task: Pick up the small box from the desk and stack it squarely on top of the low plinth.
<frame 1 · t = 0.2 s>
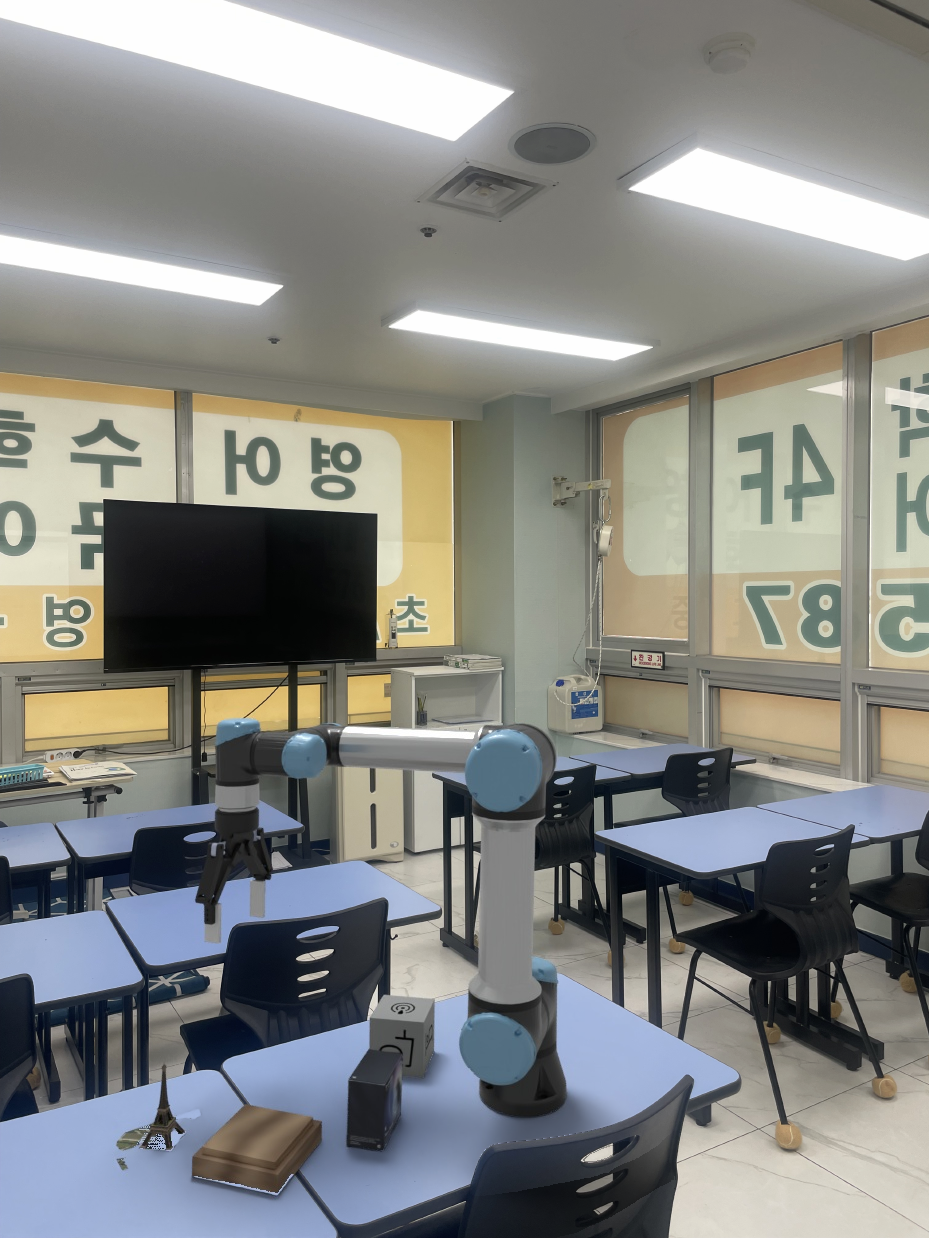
hand: (235, 928, 152), 28 cm above the table, tool pointing down, fingers open, 13 cm apart
icon cube: (402, 1063, 161), on the table
plinth: (259, 1157, 132), on the table
small box: (375, 1132, 139), on the table
eiffel tower figurine: (163, 1142, 137), on the table
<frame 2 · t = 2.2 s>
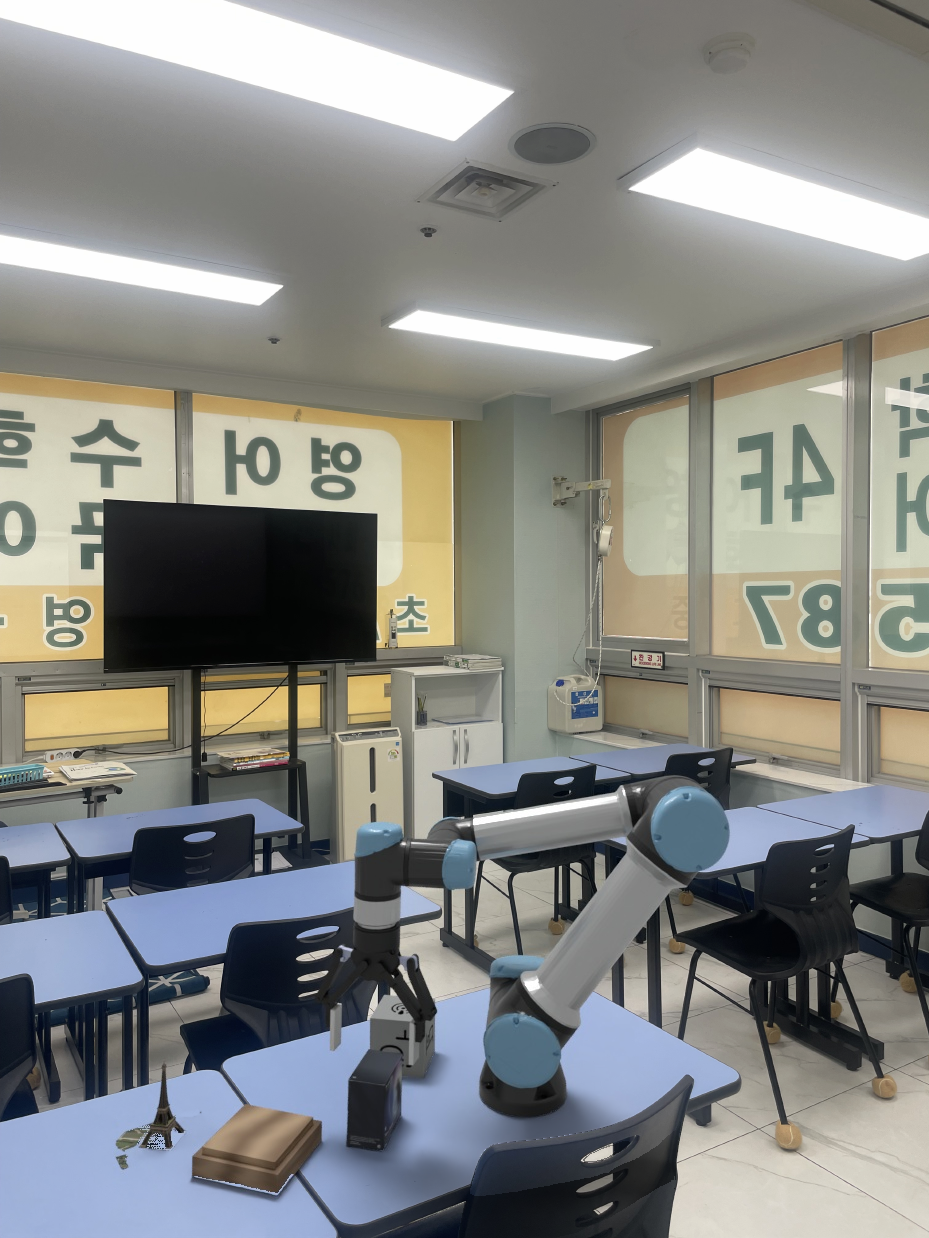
hand: (374, 1054, 139), 12 cm above the table, tool pointing down, fingers open, 13 cm apart
nothing on the table moved.
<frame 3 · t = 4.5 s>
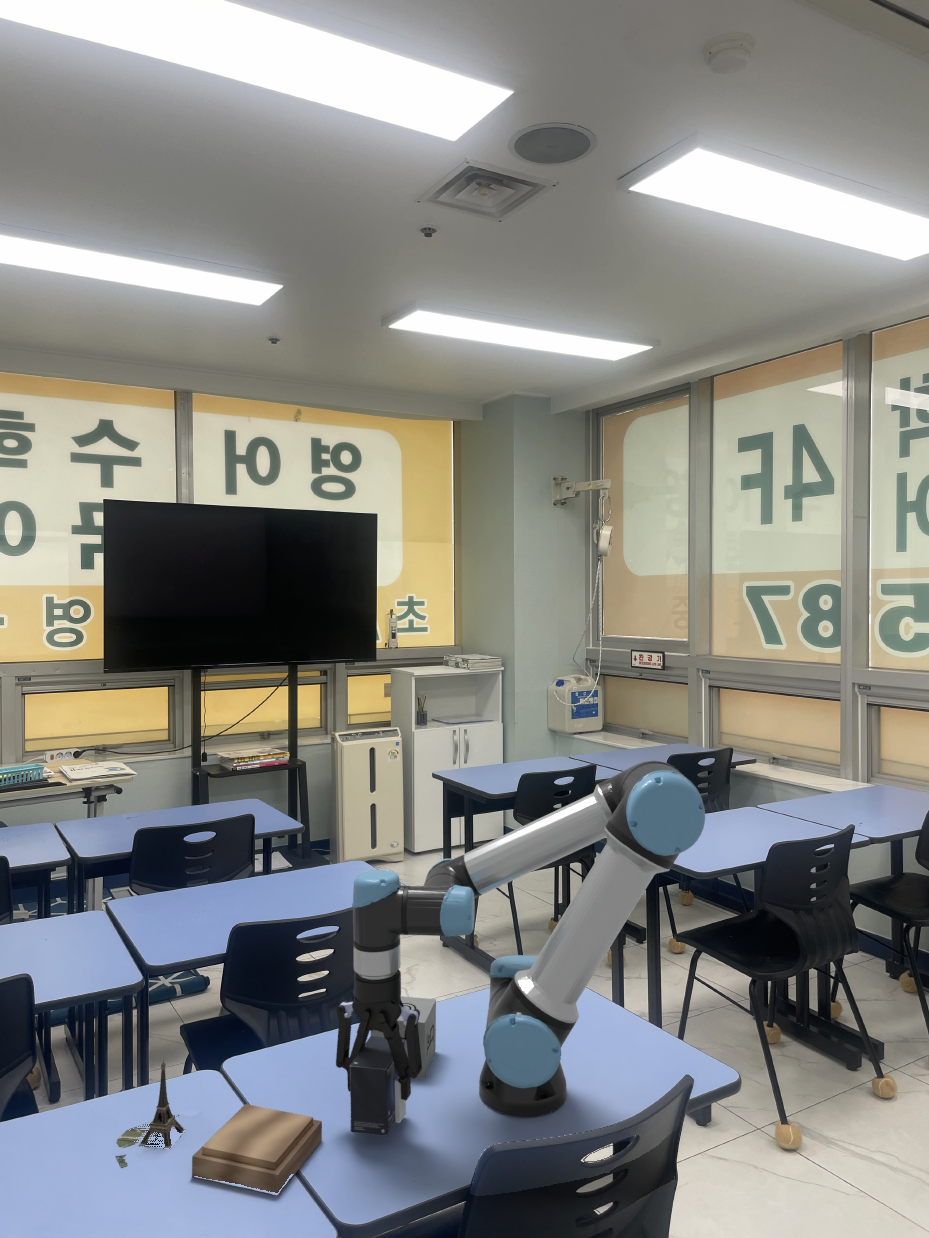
hand: (379, 1114, 139), 3 cm above the table, tool pointing down, fingers closed on small box, 7 cm apart
small box: (380, 1118, 139), point 2 cm above the table, touching gripper
everything else where it was.
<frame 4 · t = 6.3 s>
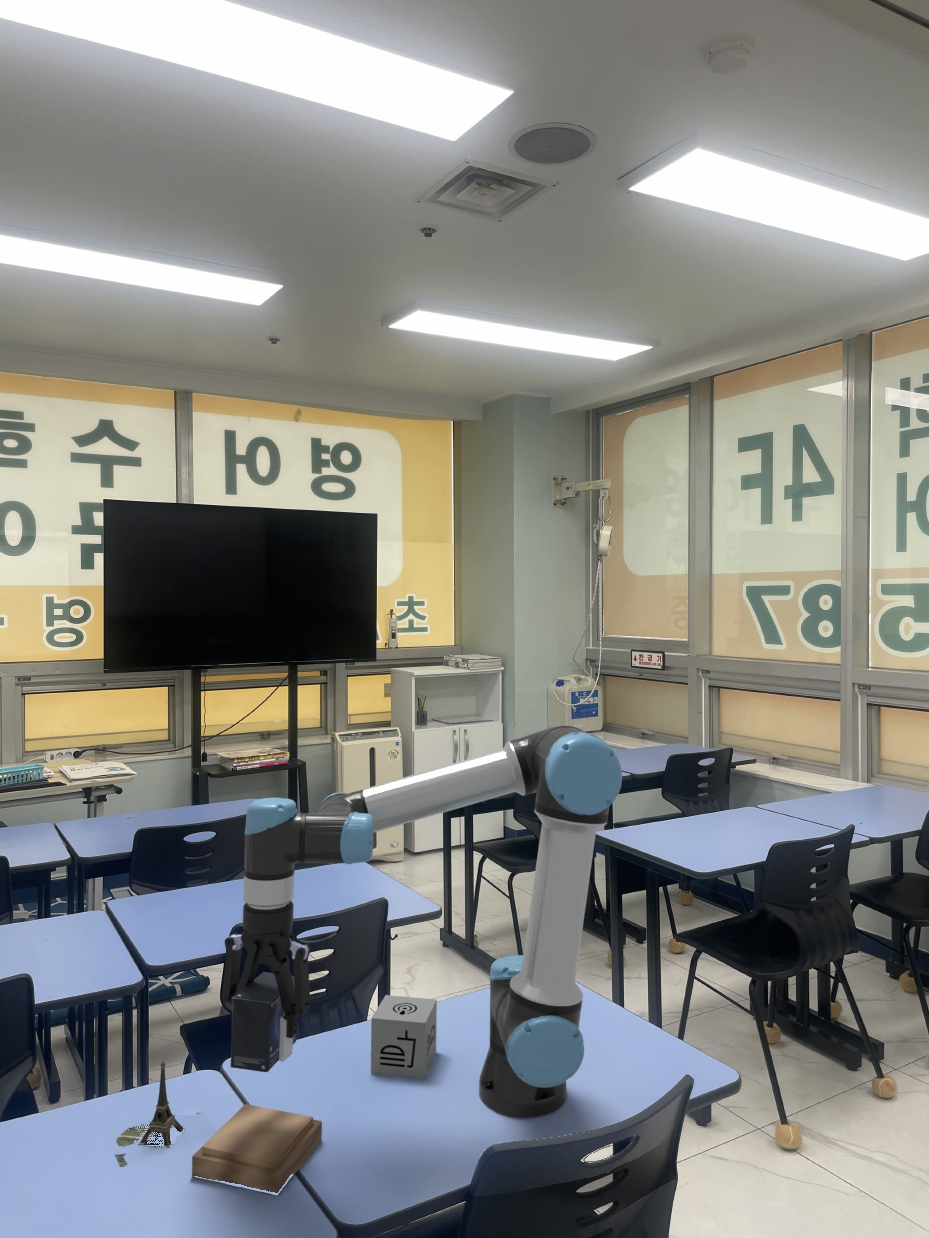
hand: (264, 1052, 132), 16 cm above the table, tool pointing down, fingers closed on small box, 7 cm apart
small box: (265, 1056, 132), point 15 cm above the table, touching gripper
everything else where it was.
when the fingers open (5 cm above the table, at t = 8.2 s): small box drops 1 cm, resting on plinth.
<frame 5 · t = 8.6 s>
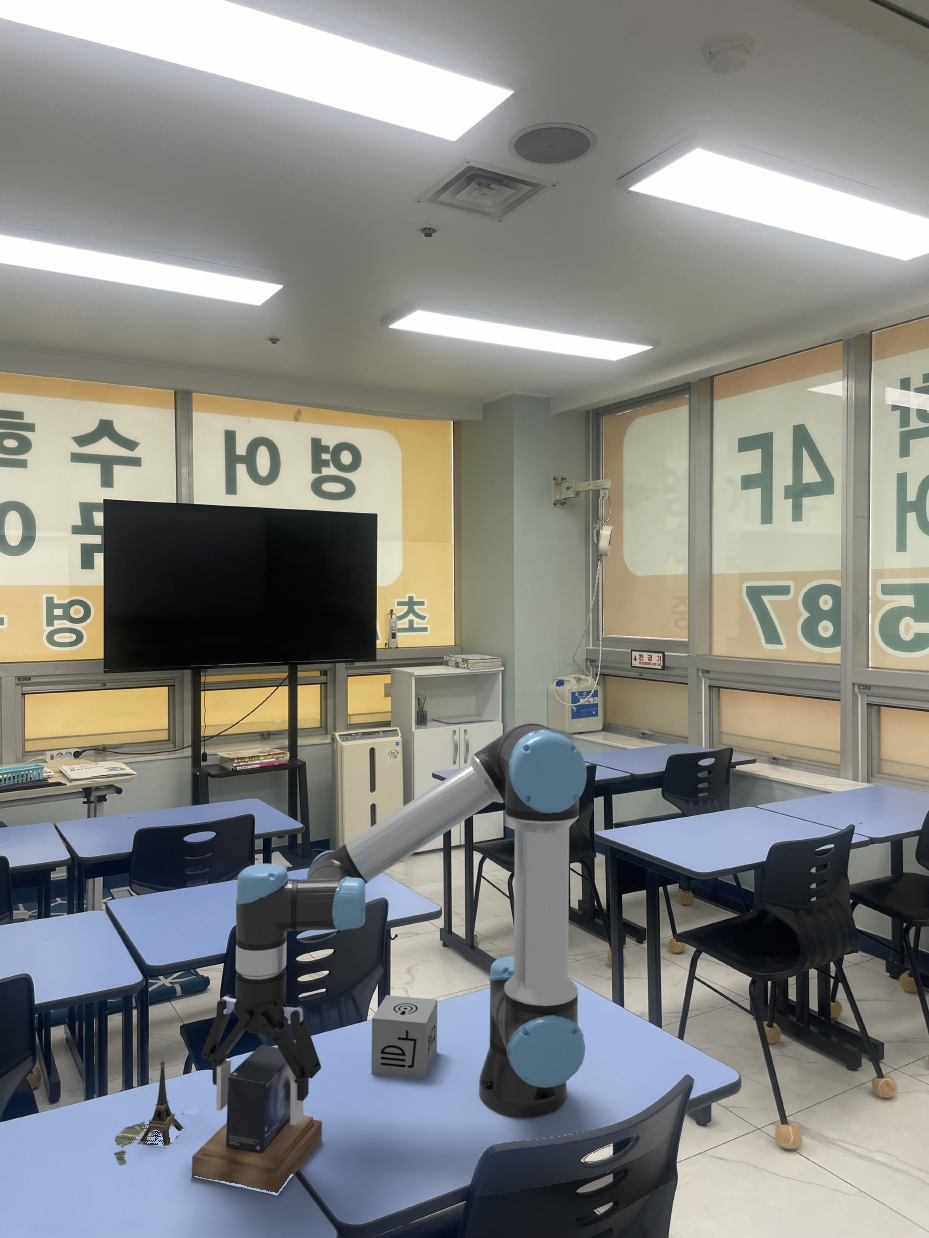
hand: (259, 1112, 132), 7 cm above the table, tool pointing down, fingers open, 12 cm apart
small box: (261, 1132, 132), point 4 cm above the table, touching plinth
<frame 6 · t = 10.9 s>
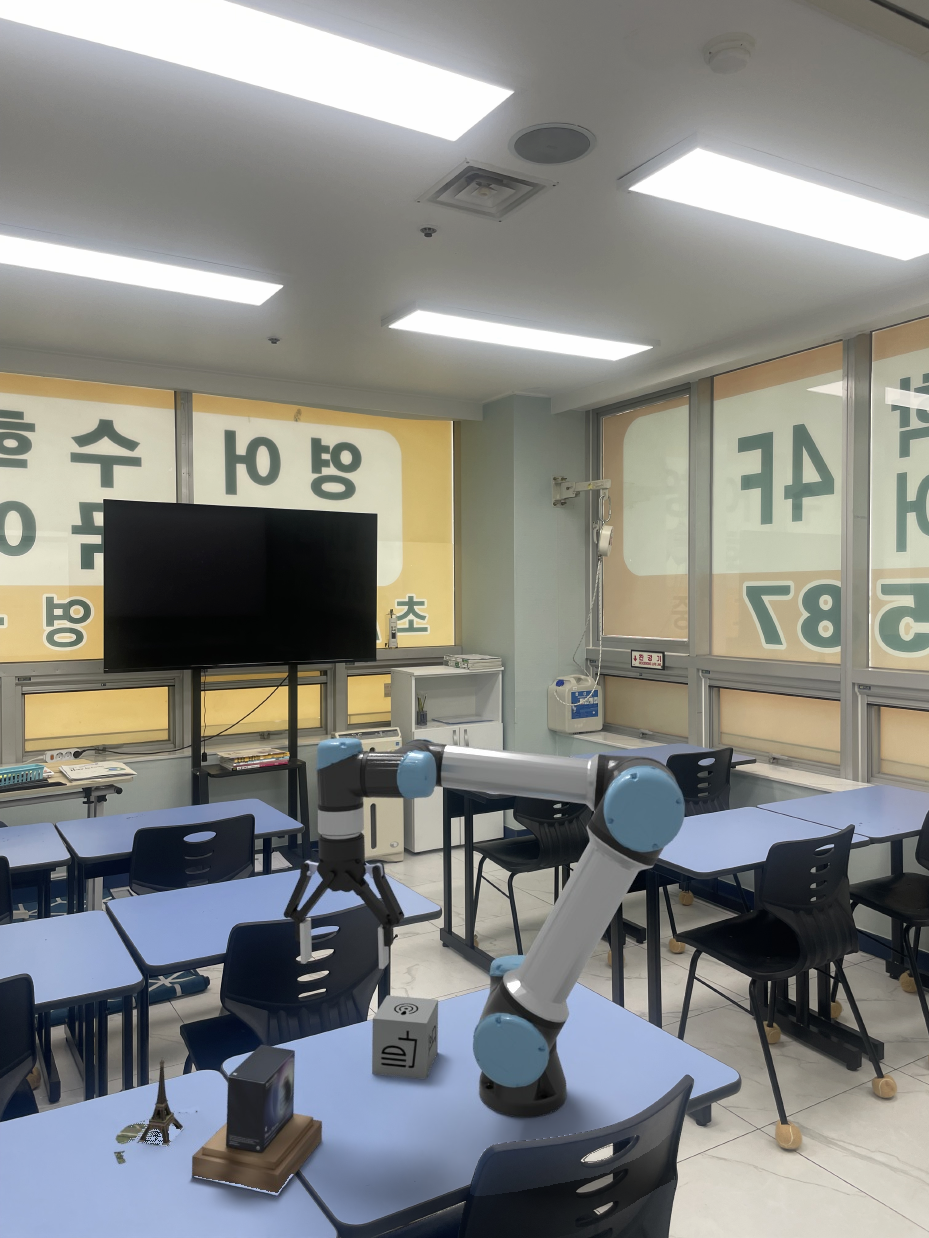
hand: (344, 963, 143), 25 cm above the table, tool pointing down, fingers open, 13 cm apart
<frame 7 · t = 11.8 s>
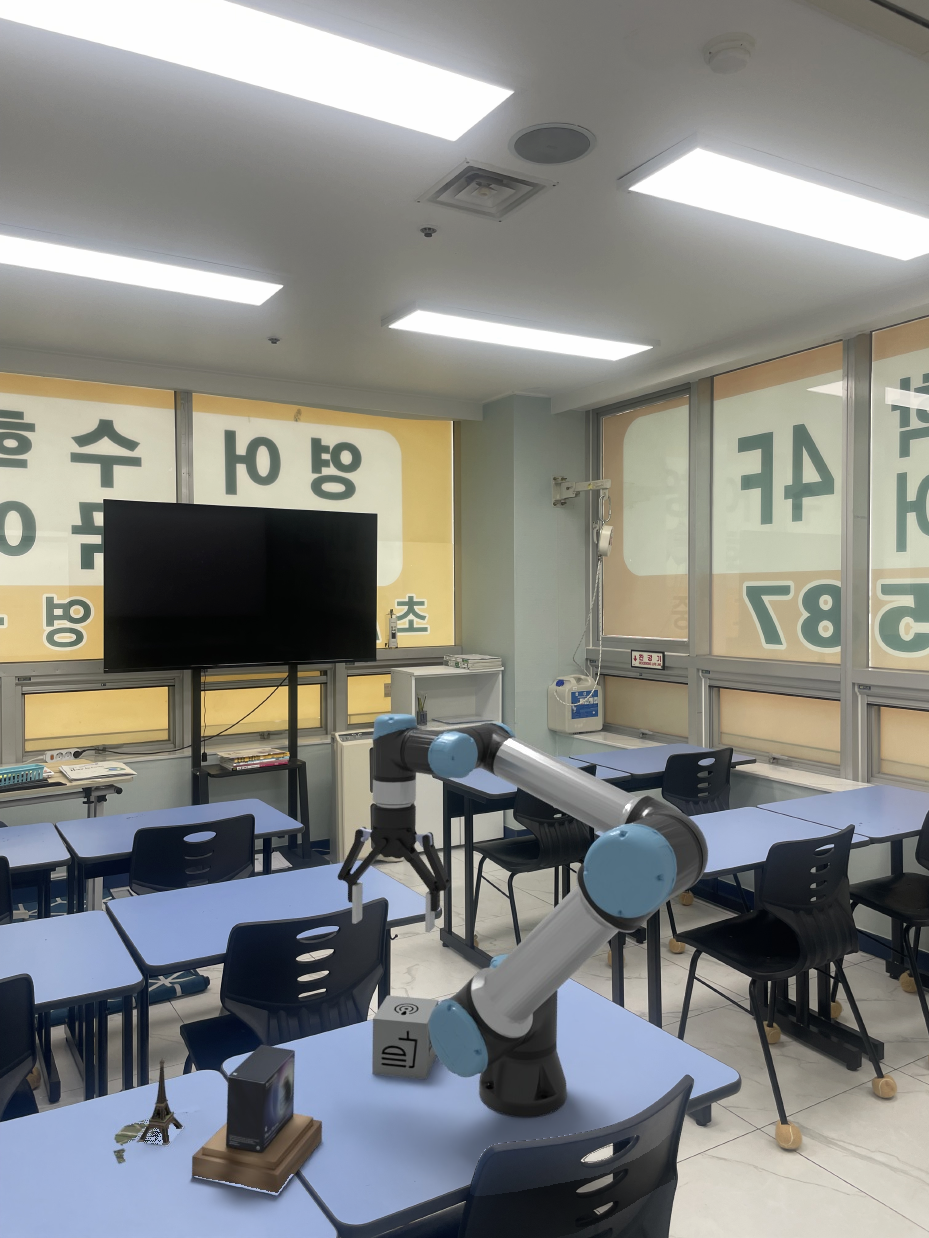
hand: (393, 925, 151), 29 cm above the table, tool pointing down, fingers open, 13 cm apart
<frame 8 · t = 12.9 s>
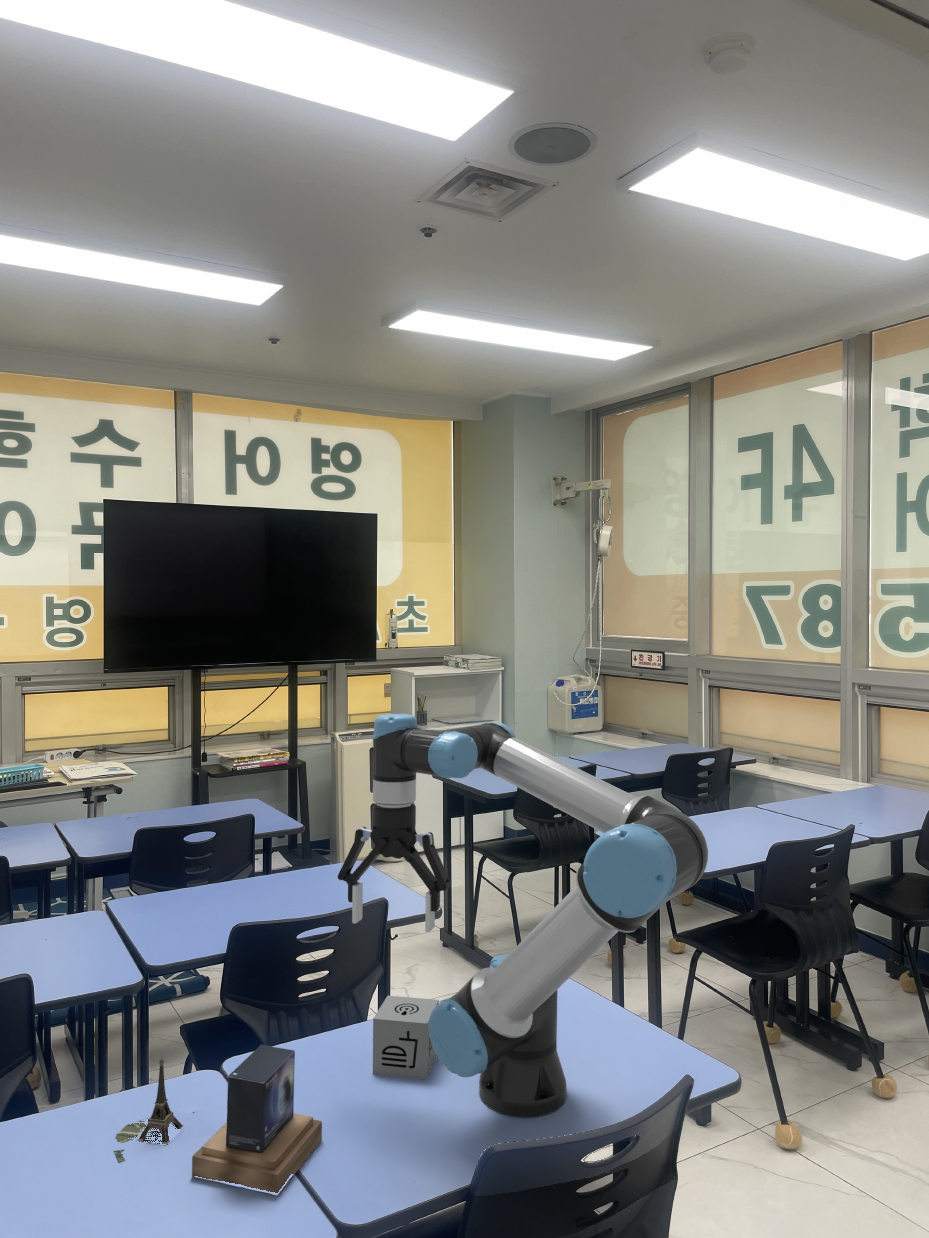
hand: (393, 925, 151), 29 cm above the table, tool pointing down, fingers open, 13 cm apart
at the end: small box inside the target area on the plinth (0.3 cm from its centre), point 3.8 cm above the plinth's base; small box tilted 0°; the gripper is holding nothing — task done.
